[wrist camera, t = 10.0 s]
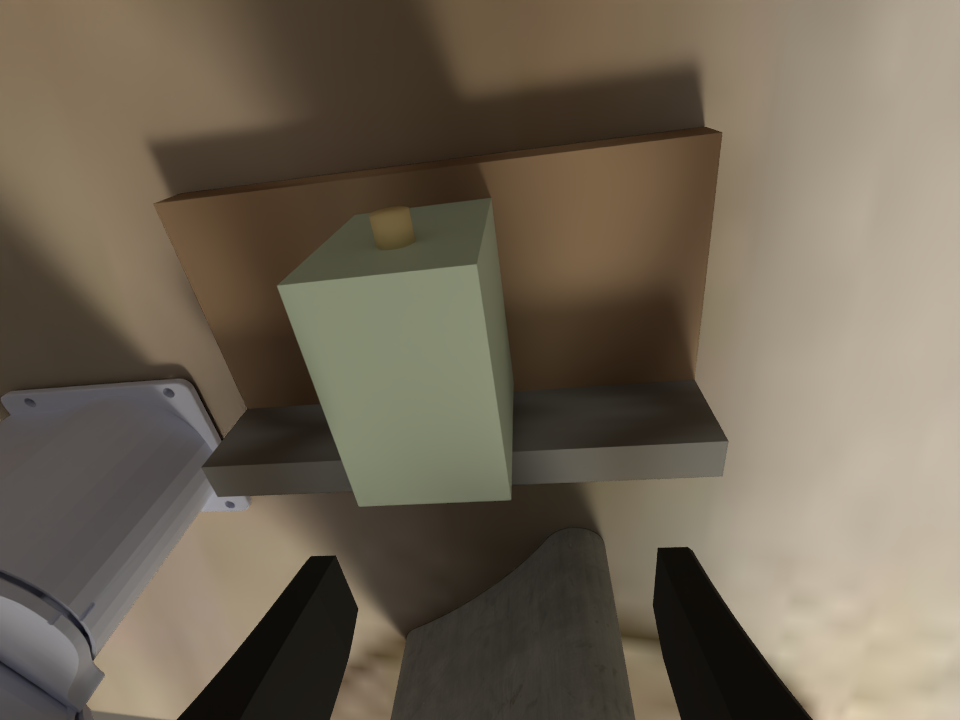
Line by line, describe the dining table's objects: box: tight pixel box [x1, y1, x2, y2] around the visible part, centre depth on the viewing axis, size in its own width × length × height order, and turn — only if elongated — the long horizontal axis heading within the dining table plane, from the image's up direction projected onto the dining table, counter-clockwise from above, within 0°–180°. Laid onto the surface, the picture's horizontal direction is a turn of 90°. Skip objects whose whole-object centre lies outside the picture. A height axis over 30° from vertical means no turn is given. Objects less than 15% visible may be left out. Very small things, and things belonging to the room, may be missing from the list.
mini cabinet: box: [277, 198, 514, 507], centre depth 15 cm, size 4×8×6 cm, turn 8°
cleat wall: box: [154, 127, 728, 497], centre depth 17 cm, size 18×10×5 cm, turn 98°
